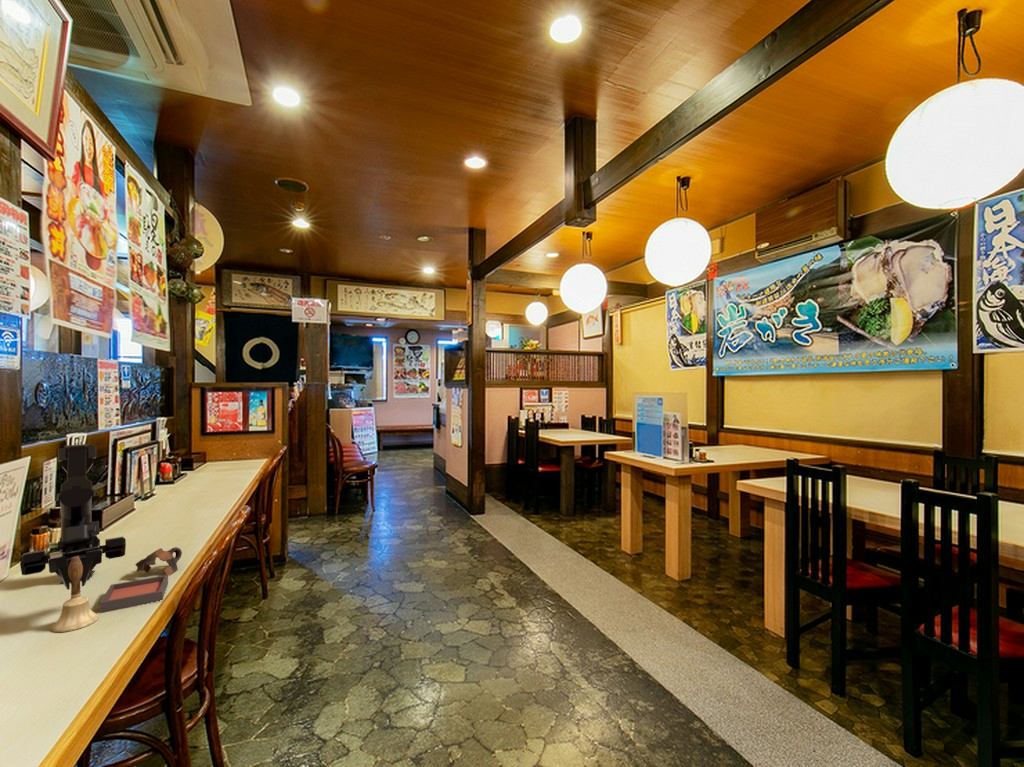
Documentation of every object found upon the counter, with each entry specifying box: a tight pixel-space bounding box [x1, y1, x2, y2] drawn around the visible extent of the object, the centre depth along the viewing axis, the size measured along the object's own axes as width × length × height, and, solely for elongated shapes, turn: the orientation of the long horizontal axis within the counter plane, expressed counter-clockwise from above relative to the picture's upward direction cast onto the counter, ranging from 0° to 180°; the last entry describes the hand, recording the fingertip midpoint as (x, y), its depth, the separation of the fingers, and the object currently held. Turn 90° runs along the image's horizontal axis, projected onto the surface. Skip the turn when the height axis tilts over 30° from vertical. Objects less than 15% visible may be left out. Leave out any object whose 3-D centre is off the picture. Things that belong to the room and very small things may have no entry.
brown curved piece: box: [135, 546, 183, 576], centre depth 143 cm, size 12×10×8 cm
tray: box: [99, 574, 169, 614], centre depth 125 cm, size 13×13×2 cm
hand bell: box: [50, 556, 100, 633], centre depth 112 cm, size 8×8×16 cm
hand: (75, 587), depth 111 cm, fingers closed on hand bell, 2 cm apart
